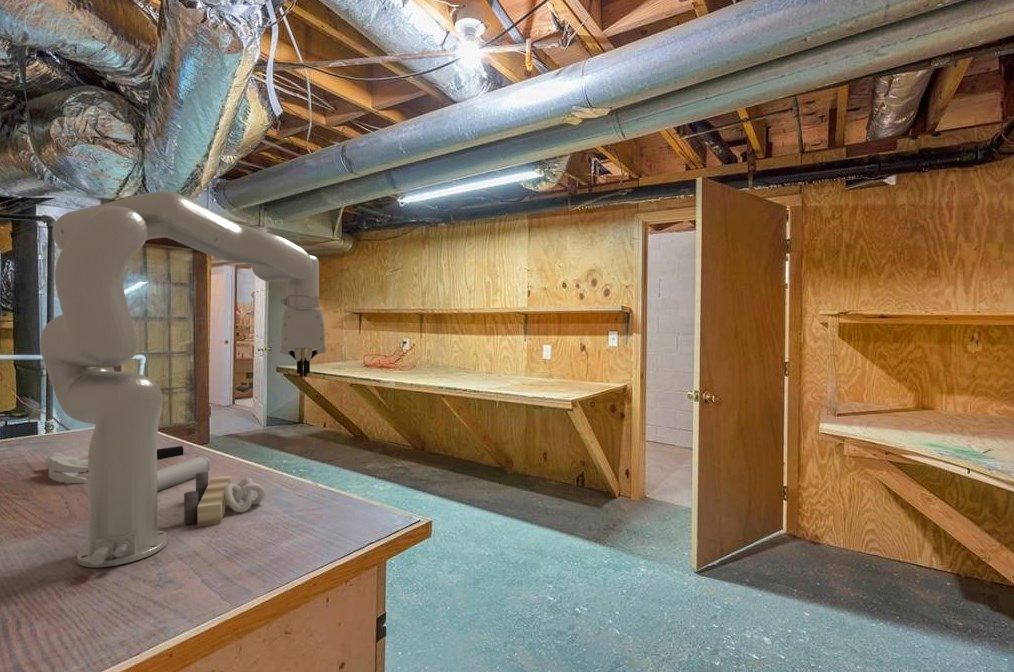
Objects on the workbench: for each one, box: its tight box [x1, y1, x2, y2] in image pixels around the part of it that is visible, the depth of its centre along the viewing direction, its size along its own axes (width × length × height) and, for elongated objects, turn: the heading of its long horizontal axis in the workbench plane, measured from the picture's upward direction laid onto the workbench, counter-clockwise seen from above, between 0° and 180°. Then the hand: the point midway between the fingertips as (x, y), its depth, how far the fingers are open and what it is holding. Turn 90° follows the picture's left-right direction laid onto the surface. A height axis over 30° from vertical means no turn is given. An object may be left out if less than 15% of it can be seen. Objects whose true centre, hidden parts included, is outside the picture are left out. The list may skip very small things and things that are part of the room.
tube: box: [157, 454, 211, 493], centre depth 118 cm, size 5×5×25 cm
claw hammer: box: [43, 445, 184, 484], centre depth 137 cm, size 6×22×30 cm
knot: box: [224, 477, 266, 513], centre depth 107 cm, size 8×8×6 cm
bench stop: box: [183, 471, 232, 528], centre depth 106 cm, size 20×7×6 cm, turn 25°
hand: (303, 376), depth 123 cm, fingers closed
